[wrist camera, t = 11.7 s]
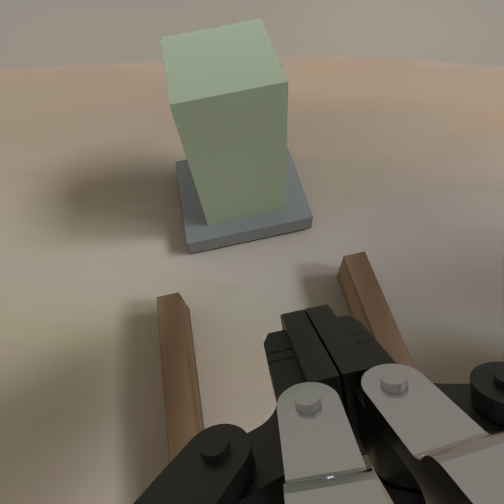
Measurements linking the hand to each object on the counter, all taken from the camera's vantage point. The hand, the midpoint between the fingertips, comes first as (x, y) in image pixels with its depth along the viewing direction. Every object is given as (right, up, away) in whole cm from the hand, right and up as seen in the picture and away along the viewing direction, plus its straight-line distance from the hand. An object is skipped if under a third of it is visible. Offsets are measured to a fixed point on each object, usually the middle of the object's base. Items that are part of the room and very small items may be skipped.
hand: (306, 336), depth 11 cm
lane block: (-2, +6, +14) cm, 15 cm away
